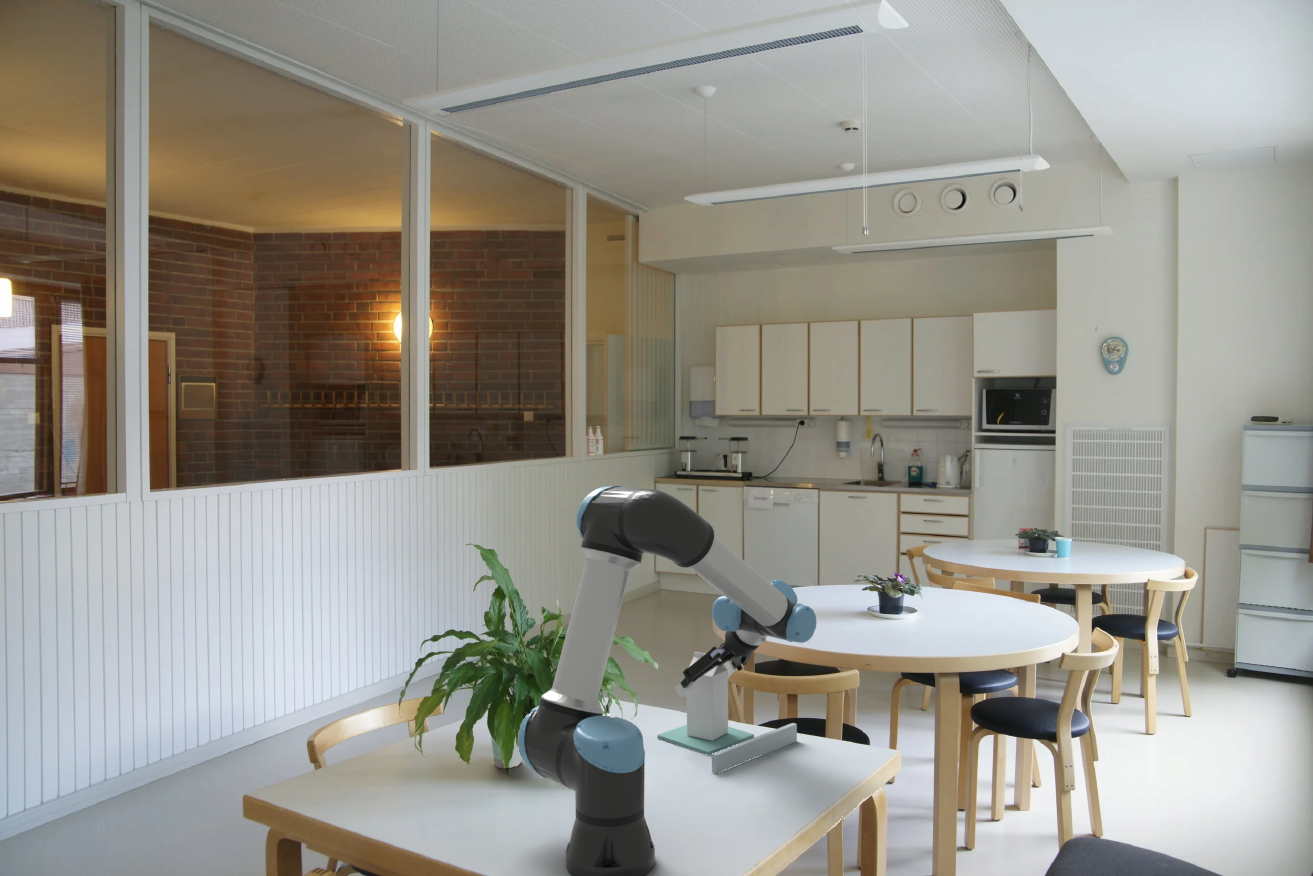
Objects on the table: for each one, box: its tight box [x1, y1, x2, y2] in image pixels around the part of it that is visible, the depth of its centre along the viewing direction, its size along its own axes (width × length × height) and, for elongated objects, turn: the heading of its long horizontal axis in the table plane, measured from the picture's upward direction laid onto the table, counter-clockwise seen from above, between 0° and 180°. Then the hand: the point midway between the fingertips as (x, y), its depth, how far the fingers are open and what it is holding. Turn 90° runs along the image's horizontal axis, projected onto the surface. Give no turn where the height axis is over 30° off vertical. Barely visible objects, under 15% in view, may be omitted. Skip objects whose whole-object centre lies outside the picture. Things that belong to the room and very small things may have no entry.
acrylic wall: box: [711, 722, 798, 774], centre depth 210 cm, size 28×1×4 cm, turn 135°
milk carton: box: [686, 651, 729, 741], centre depth 222 cm, size 7×7×19 cm
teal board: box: [657, 724, 755, 756], centre depth 222 cm, size 16×16×1 cm
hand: (698, 686), depth 224 cm, fingers open, 13 cm apart
